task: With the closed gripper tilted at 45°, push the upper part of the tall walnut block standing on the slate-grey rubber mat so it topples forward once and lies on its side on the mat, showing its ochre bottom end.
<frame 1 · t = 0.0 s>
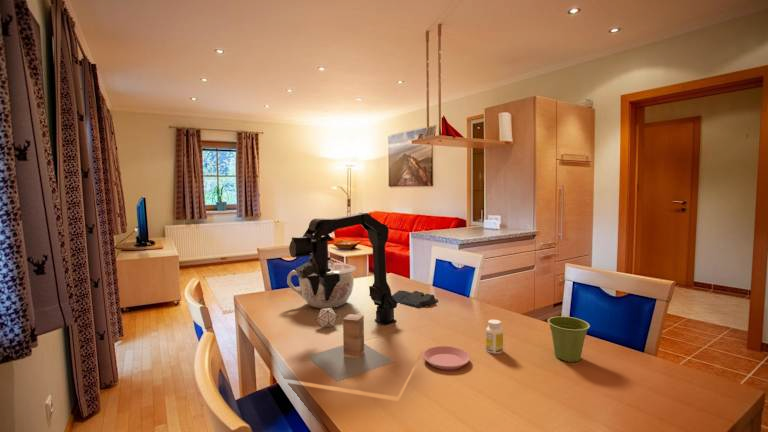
hand: (320, 297, 138), 15 cm above the table, tool pointing down, fingers open, 9 cm apart
chamber pot: (326, 304, 179), on the table
plant pot: (567, 358, 121), on the table
walnut block: (354, 354, 123), point 1 cm above the table, touching rubber mat
game die: (327, 328, 149), on the table
dark slate chunk: (412, 302, 183), on the table
rubber mat: (349, 361, 120), on the table
supplement bottle: (494, 351, 127), on the table
plate: (446, 362, 119), on the table
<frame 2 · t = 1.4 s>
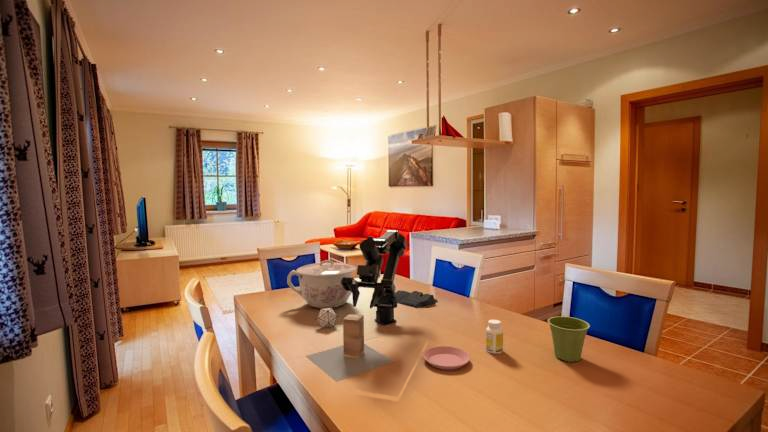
hand: (362, 307, 130), 14 cm above the table, tool tilted 45°, fingers open, 6 cm apart
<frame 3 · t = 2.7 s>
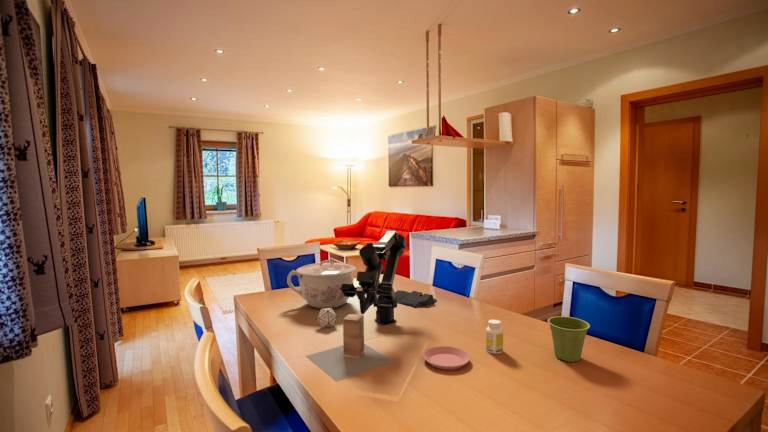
hand: (361, 313, 130), 11 cm above the table, tool tilted 45°, fingers closed
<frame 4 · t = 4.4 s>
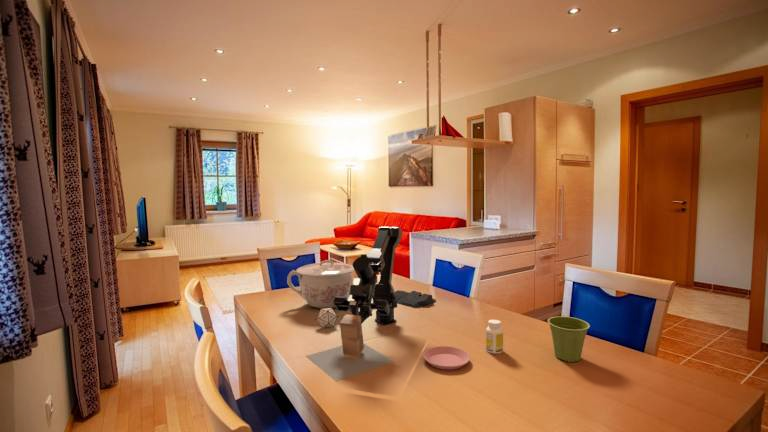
hand: (354, 329, 124), 8 cm above the table, tool tilted 45°, fingers closed
walnut block: (353, 352, 123), point 1 cm above the table, tilted 13°, touching rubber mat
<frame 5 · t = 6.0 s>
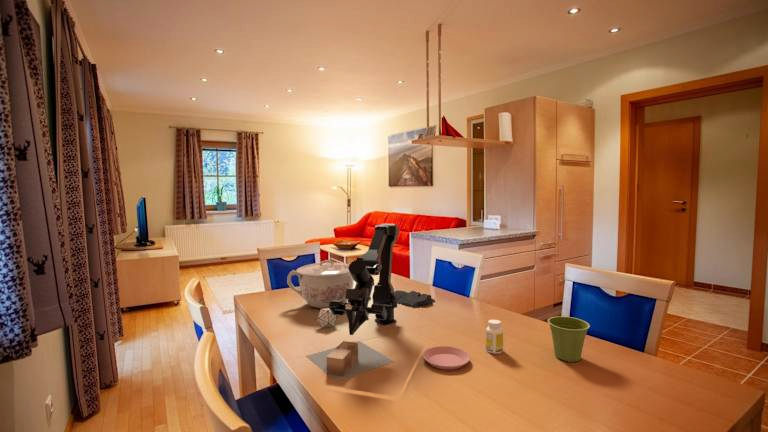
hand: (350, 334, 120), 8 cm above the table, tool tilted 45°, fingers closed
walnut block: (350, 349, 121), point 3 cm above the table, tilted 90°, touching rubber mat
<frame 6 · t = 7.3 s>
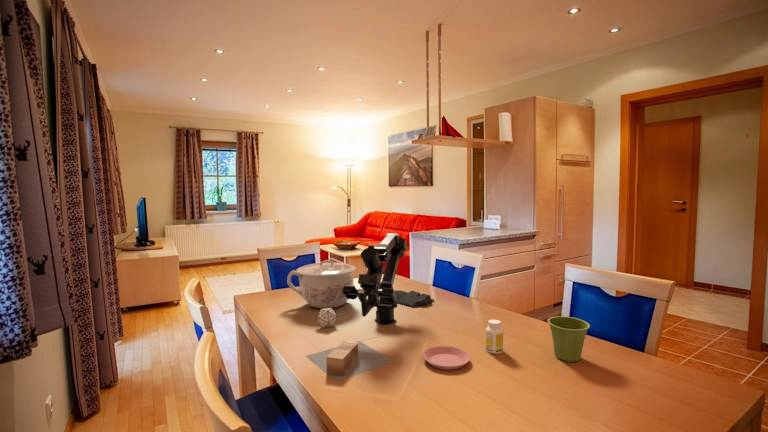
hand: (363, 316, 131), 10 cm above the table, tool tilted 45°, fingers closed
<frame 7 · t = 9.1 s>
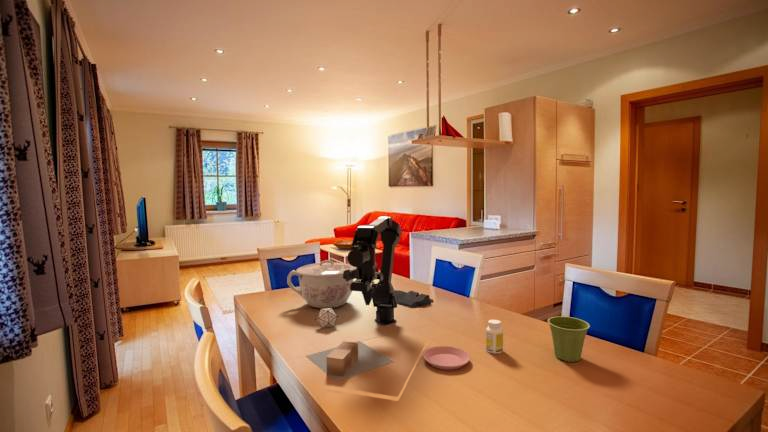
hand: (367, 304, 137), 12 cm above the table, tool pointing down, fingers closed
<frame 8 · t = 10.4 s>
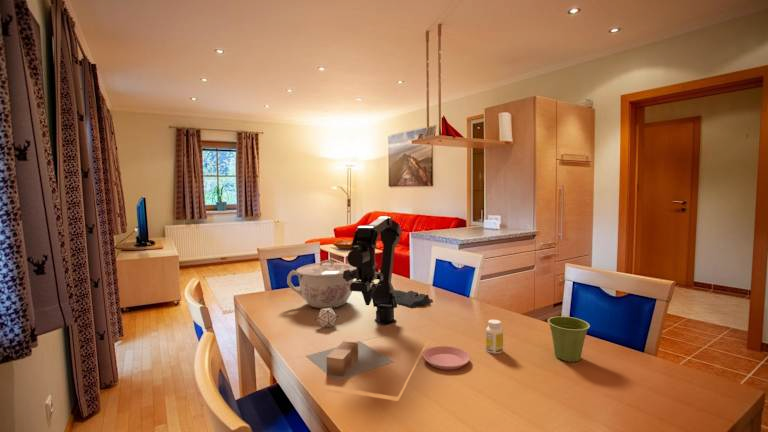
hand: (367, 305, 137), 12 cm above the table, tool pointing down, fingers closed
at the end: walnut block tilted 90°; walnut block inside the target area (0.5 cm from its centre), point 3.3 cm above the table; walnut block touching rubber mat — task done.
